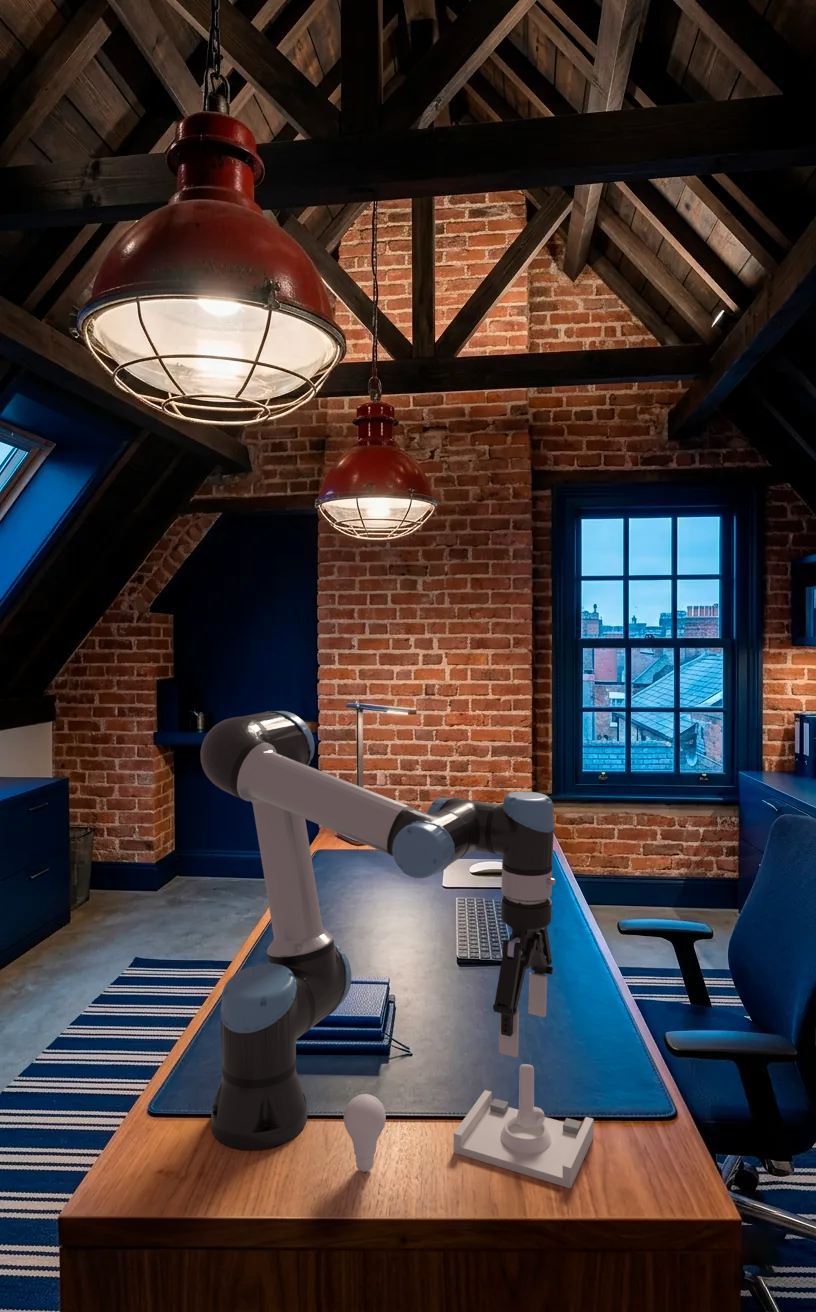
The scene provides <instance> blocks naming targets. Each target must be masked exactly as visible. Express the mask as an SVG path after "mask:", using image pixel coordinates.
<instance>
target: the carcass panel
mask: <svg viewBox="0 0 816 1312" xmlns="http://www.w3.org/2000/svg"><path fill="white" fill-rule="evenodd" d="M492 1094H493V1092H492V1091H490V1090H487V1089H485V1090H483V1092H482V1093H481V1095H480V1096H479V1097H478V1099H477V1100H476V1101H475V1103H474V1104H473V1106H472V1107H471V1108H470V1109H469V1111H468V1113H467V1115H466V1116H465V1117H464V1118H463V1120H462V1121H461V1123H460V1124H459V1125H458V1127H457V1128H456V1130H455V1131H454V1132H453V1154H457V1155H461V1156H463V1157H467V1158H470V1159H472V1160H476V1161H480V1162H483V1163H487V1164H489V1165H492V1166H495V1167H499V1168H502V1169H506V1170H508V1171H512V1172H516V1173H519V1174H522V1175H525V1176H528V1177H530V1178H531V1177H532V1178H535V1179H538V1180H540V1181H541V1180H542V1181H545V1182H549V1183H551V1184H554V1185H558V1186H561V1187H564V1188H567V1189H572V1187H573V1185H574V1183H575V1181H576V1178H577V1176H578V1173H579V1171H580V1169H581V1167H582V1164H583V1162H584V1159H585V1157H586V1155H587V1153H588V1151H589V1148H590V1147H591V1144H592V1142H593V1139H594V1131H595V1130H594V1129H595V1128H594V1121H595V1120H594V1118H592V1117H587V1116H586V1117H584V1119H583V1122H582V1121H580V1120H576V1119H572V1118H568V1117H566V1118H565V1120H564V1121H562V1120H557V1119H553V1118H550V1117H546V1116H545V1119H544V1122H543V1123H544V1124H545V1125H546V1127H547V1129H548V1131H549V1133H550V1136H551V1143H550V1145H549V1147H548V1148H547V1149H545V1150H543V1151H541V1152H538V1153H531V1154H528V1153H520V1152H516V1151H514V1150H512V1149H510V1148H508V1147H507V1146H506V1145H505V1144H504V1143H503V1142H502V1140H501V1131H502V1128H503V1126H504V1125H505V1123H506V1121H507V1120H508V1119H510V1118H512V1117H514V1116H517V1114H518V1110H519V1108H518V1109H516V1108H514V1107H510V1106H509V1101H505V1100H502V1099H498V1098H493V1096H492ZM507 1129H508V1131H509V1132H510V1133H511V1134H512V1135H514V1136H516V1137H518V1138H521V1139H535V1138H538V1137H540V1136H541V1135H542V1134H543V1133H544V1130H542V1129H541V1128H539V1127H531V1128H523V1127H522V1126H520V1125H519V1124H515V1125H512V1126H510V1127H508V1128H507Z"/></svg>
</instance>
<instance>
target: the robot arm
mask: <svg viewBox="0 0 816 1312" xmlns="http://www.w3.org/2000/svg"><path fill="white" fill-rule="evenodd" d="M314 754H315V741H314V736H313V734H312V732H311V730H310V728H309V725H307V723H306V722H305V721H304V720H303V719H302V718H300V717H299V716H298V715H296V714H295V713H292V712H289V711H285V710H276V711H275V710H270V711H269V710H267V711H264V712H258V713H254V714H249V715H243V716H234V717H229V718H226V719H223V720H222V721H219V722H218V723H217V724H215V725H214V726H213V727H211V729H210V730H209V731H208V732H207V733H206V735H205V736H204V738H203V742H202V743H201V748H200V763H201V767H202V769H203V772H204V774H205V775H206V777H207V778H208V779H209V780H210V781H211V783H212V784H214V785H215V786H216V787H217V788H219V789H221V790H222V791H224V792H226V793H228V794H230V795H232V796H234V797H236V798H239V799H242V800H244V801H246V802H251V803H252V809H253V814H254V815H253V816H254V821H255V827H256V834H257V840H258V846H259V851H260V857H261V858H260V859H261V864H262V871H263V877H264V883H265V890H266V895H267V896H266V897H267V904H268V909H269V914H270V921H271V927H272V928H271V929H272V933H273V934H272V935H273V940H272V941H271V942H270V944H269V946H268V947H267V949H266V953H267V960H268V963H259V964H257V965H256V966H251V965H250V966H248V967H246V968H243V969H241V970H239V971H238V972H236V973H234V974H233V975H232V976H231V977H230V978H229V979H228V980H227V981H226V983H225V984H224V986H223V989H222V993H221V1004H220V1015H219V1016H220V1021H221V1022H220V1023H221V1025H220V1027H221V1029H220V1030H221V1069H222V1070H221V1080H220V1083H219V1086H218V1089H217V1093H216V1096H215V1099H214V1101H213V1105H212V1107H211V1108H212V1109H211V1113H210V1115H211V1117H210V1119H211V1120H210V1121H211V1123H210V1125H211V1132H212V1134H213V1136H214V1138H216V1139H217V1141H219V1142H220V1143H222V1144H224V1145H225V1146H227V1147H230V1148H234V1149H238V1150H247V1151H248V1150H249V1151H254V1150H255V1151H257V1150H263V1149H269V1148H274V1147H277V1146H279V1145H282V1144H284V1143H286V1142H288V1141H290V1140H292V1139H293V1138H295V1137H296V1136H297V1135H299V1134H300V1132H302V1130H303V1129H304V1128H305V1125H306V1124H307V1120H308V1103H307V1101H308V1100H307V1098H306V1096H305V1093H304V1092H303V1088H302V1085H301V1081H300V1078H299V1074H298V1072H297V1059H296V1058H297V1049H296V1047H297V1045H296V1044H297V1040H298V1039H299V1038H301V1036H303V1035H304V1034H306V1033H307V1032H308V1031H309V1030H310V1029H312V1028H313V1027H314V1026H316V1025H317V1024H319V1023H320V1022H321V1021H322V1020H324V1019H325V1018H326V1017H329V1016H330V1015H331V1014H333V1013H334V1012H335V1011H336V1010H337V1008H338V1007H340V1005H341V1004H342V1003H343V1002H344V1001H345V999H346V998H347V996H348V995H349V992H350V989H351V985H352V968H351V964H350V961H349V958H348V957H347V955H346V952H345V953H344V952H342V949H341V947H339V945H337V944H336V943H335V941H334V936H333V934H331V933H330V932H329V931H327V930H326V929H325V928H324V927H323V922H322V921H323V920H322V916H321V914H322V913H321V911H320V904H319V903H320V902H319V897H318V896H319V895H318V890H317V884H316V878H315V873H314V864H313V860H312V854H311V853H312V852H311V846H310V840H309V834H308V829H307V822H306V820H307V821H309V822H313V823H315V824H317V825H318V826H321V827H323V828H326V829H328V830H331V831H334V832H335V833H337V834H340V835H343V836H344V837H347V838H350V839H352V840H354V841H357V842H359V843H361V844H363V845H365V846H368V847H370V848H372V849H375V850H378V851H380V852H382V853H385V854H386V855H388V856H392V857H393V860H394V862H395V864H396V866H397V867H398V868H399V869H400V870H401V871H402V873H403V874H405V875H406V876H409V877H410V878H413V879H414V878H415V879H424V878H425V879H426V878H429V877H432V876H433V875H434V876H435V875H436V874H439V873H441V872H443V871H444V870H446V869H447V868H448V867H449V866H450V865H452V864H453V863H455V862H456V861H458V860H460V859H461V858H463V857H464V856H466V855H467V854H469V853H471V852H473V851H474V852H480V853H486V854H495V855H497V854H498V855H501V857H502V863H501V864H502V865H501V893H502V895H503V896H501V902H500V904H501V905H500V906H501V909H500V910H501V912H500V916H501V917H500V918H501V920H502V923H504V924H506V925H507V926H509V927H510V928H511V934H510V936H509V938H508V940H507V939H504V941H503V942H502V954H501V955H502V957H501V963H500V968H499V975H498V981H497V985H496V993H495V1000H494V1004H493V1006H492V1009H493V1013H497V1014H499V1027H498V1029H499V1030H498V1031H499V1032H498V1054H501V1055H505V1056H508V1057H513V1058H518V1056H519V1041H520V1040H519V1037H520V1035H519V1034H520V1032H519V1031H520V1011H519V1010H518V1005H519V1001H520V996H521V992H522V988H523V984H524V979H525V975H526V971H527V970H528V969H529V968H530V969H531V971H530V972H529V974H528V975H529V977H528V978H529V979H528V1013H527V1014H529V1015H533V1016H537V1017H542V1018H545V1017H546V1016H547V991H548V975H553V972H554V967H553V966H551V965H552V962H553V961H552V954H551V945H550V941H549V940H550V939H549V933H548V926H549V925H550V924H551V922H552V906H553V905H552V901H553V900H552V899H551V898H550V897H551V896H552V895H553V894H552V891H553V889H552V888H553V886H554V885H556V883H557V882H556V879H555V878H553V877H552V876H553V859H554V857H553V854H554V833H555V832H554V831H555V824H554V823H555V822H554V803H553V801H552V799H551V798H550V797H549V796H548V795H546V794H543V793H541V792H535V791H534V792H533V791H513V792H512V791H511V792H509V793H507V794H505V796H504V797H503V802H502V803H494V802H493V803H492V802H491V803H490V802H485V801H476V800H470V799H469V800H468V799H463V798H460V797H438V798H435V799H434V800H433V801H432V803H431V805H430V806H429V807H428V809H427V812H424V811H422V810H419V809H417V808H414V807H412V806H409V805H407V804H404V803H402V802H399V801H397V800H394V799H392V798H389V797H388V796H385V795H382V794H379V793H377V792H374V791H372V790H369V789H366V788H364V787H362V786H360V785H356V784H354V783H351V782H350V781H347V780H344V779H342V778H339V777H336V776H335V775H332V774H329V773H326V772H324V771H322V770H319V769H317V768H315V767H312V766H309V765H310V764H311V760H312V759H313V757H314Z"/></svg>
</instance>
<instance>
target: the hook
mask: <svg viewBox="0 0 816 1312" xmlns="http://www.w3.org/2000/svg"><path fill="white" fill-rule="evenodd" d="M534 1069H535V1067H534V1066H533V1065H531V1064H527V1063H522V1064H521V1065H519V1071H518V1079H519V1080H518V1082H519V1083H518V1114H517V1116H514V1117H512V1118H510V1119H508V1120H507V1121H506V1123H505V1125H504V1126H503V1128H502V1131H501V1140H502V1142H503V1143H504V1144H505V1145H506V1146H507V1147H508V1148H510V1149H512V1150H514V1151H516V1152H520V1153H528V1154H531V1153H538V1152H541V1151H543V1150H545V1149H547V1148H548V1147H549V1145H550V1143H551V1136H550V1133H549V1131H548V1129H547V1127H546V1125H545V1124H544V1123H543V1122H544V1119H545V1117H546V1115H545V1113H544V1111H543V1109H541V1108H540V1107H537V1106H535V1070H534ZM515 1124H519V1125H520V1126H522V1127H523V1128H531V1127H539V1128H541V1129H542V1130H544V1133H543V1134H542V1135H541V1136H540V1137H538V1138H535V1139H521V1138H518V1137H516V1136H514V1135H512V1134H511V1133H510V1132H509V1131H508V1129H507V1128H508V1127H510V1126H512V1125H515Z"/></svg>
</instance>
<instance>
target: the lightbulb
mask: <svg viewBox="0 0 816 1312" xmlns="http://www.w3.org/2000/svg"><path fill="white" fill-rule="evenodd" d="M386 1117H387V1115H386V1109H385V1106H384V1104H383V1103H382V1101H380V1100H379V1099H378V1097H376V1096H374V1095H372V1094H369V1093H368V1094H367V1093H362V1094H358V1095H355V1097H353V1098H352V1099H351V1100H350V1101H349V1102H348V1103H347V1105H346V1107H345V1110H344V1113H343V1123H344V1127H345V1130H346V1132H347V1134H348V1135H349V1137H350V1139H351V1141H352V1144H353V1153H354V1155H355V1164H356V1165H355V1166H356V1169H358V1170H359V1171H361V1172H364V1173H366V1172H367V1173H368V1171H371V1170H372V1169H373V1168H374V1164H375V1163H374V1161H375V1154H376V1150H377V1149H376V1148H377V1142H378V1140H379V1137H380V1136H381V1134H382V1132H383V1130H384V1128H385V1125H386Z"/></svg>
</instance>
